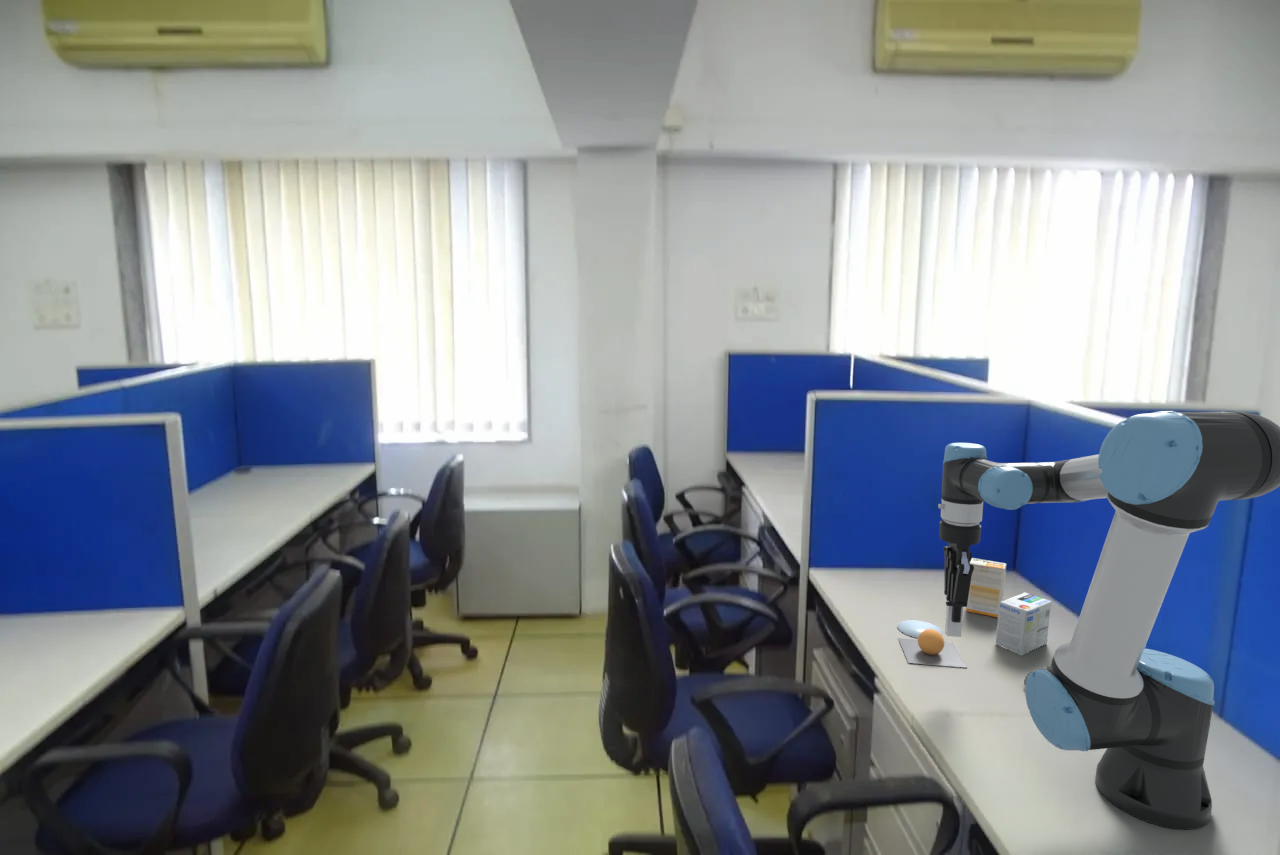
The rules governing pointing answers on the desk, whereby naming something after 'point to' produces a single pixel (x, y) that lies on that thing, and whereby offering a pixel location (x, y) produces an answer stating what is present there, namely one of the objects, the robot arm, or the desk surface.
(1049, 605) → the light bulb box
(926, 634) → the ball
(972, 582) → the supplement box
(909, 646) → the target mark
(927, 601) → the desk surface
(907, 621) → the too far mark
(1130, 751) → the robot arm
